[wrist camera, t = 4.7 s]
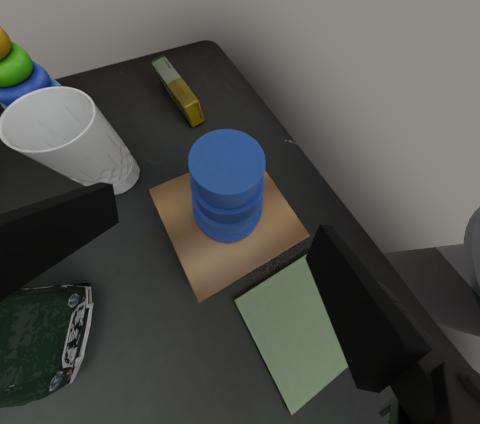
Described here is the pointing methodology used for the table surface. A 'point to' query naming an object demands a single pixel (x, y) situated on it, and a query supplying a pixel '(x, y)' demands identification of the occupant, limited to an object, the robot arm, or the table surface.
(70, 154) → the white cup
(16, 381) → the miniature car
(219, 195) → the stacked blue discs
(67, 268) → the table surface
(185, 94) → the medication box
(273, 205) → the platform
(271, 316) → the coaster
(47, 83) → the stacking toy
